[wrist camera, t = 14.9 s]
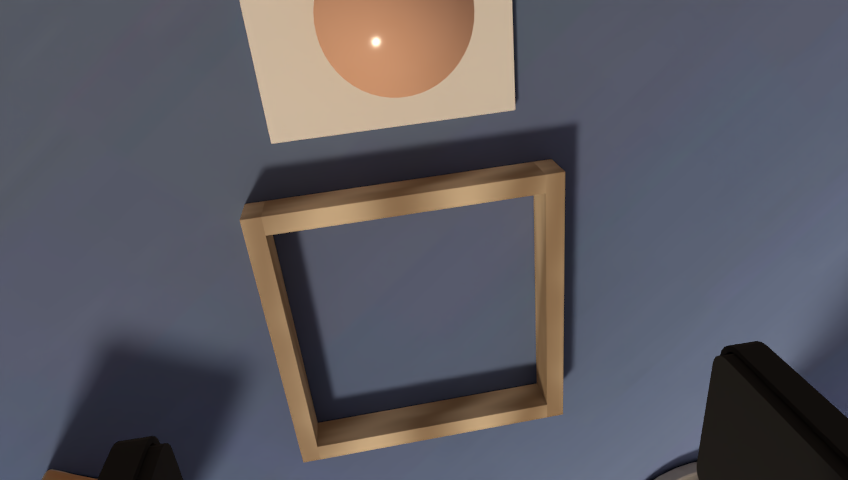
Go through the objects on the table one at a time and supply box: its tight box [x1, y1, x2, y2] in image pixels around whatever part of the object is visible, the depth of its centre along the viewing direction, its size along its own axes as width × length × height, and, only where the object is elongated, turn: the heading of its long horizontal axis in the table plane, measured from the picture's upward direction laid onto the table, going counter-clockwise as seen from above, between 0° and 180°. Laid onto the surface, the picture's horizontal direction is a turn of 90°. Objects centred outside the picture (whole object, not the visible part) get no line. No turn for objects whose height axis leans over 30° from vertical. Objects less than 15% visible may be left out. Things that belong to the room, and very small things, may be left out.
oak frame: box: [240, 159, 565, 462], centre depth 34 cm, size 16×16×2 cm
